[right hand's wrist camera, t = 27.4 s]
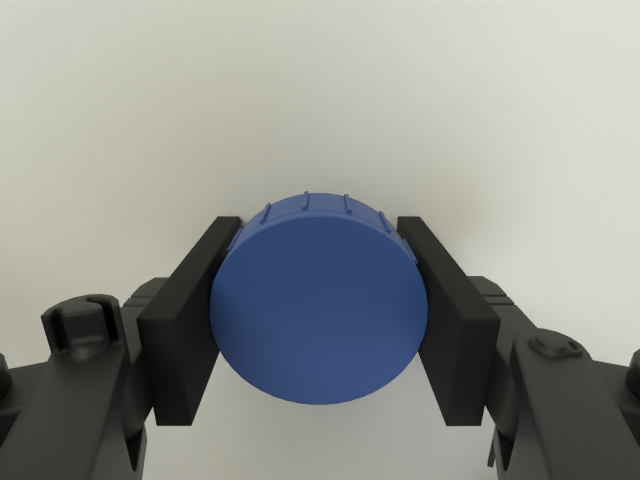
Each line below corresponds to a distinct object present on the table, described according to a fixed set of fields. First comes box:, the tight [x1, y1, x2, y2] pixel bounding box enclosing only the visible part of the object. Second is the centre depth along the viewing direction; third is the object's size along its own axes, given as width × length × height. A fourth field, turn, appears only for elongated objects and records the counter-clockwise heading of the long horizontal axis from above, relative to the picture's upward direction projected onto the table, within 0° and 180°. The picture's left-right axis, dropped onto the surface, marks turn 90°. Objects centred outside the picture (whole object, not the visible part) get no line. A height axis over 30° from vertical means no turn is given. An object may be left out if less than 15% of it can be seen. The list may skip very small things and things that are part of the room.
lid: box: [209, 191, 428, 405], centre depth 11 cm, size 6×6×2 cm
